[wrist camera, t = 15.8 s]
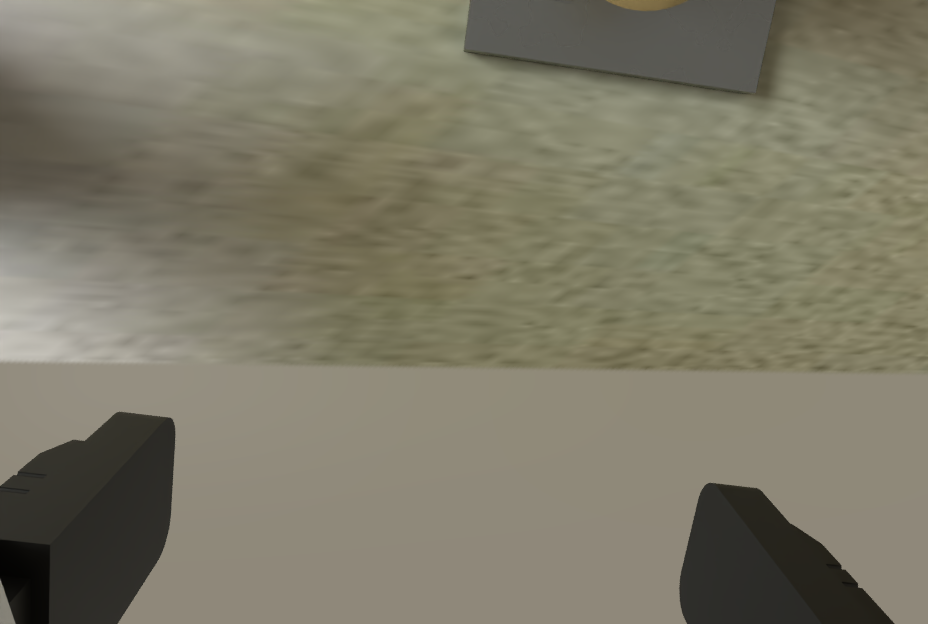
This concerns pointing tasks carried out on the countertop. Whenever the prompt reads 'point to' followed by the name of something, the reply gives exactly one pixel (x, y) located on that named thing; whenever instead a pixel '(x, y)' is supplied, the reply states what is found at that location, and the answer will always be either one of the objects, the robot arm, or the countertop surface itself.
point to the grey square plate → (631, 37)
